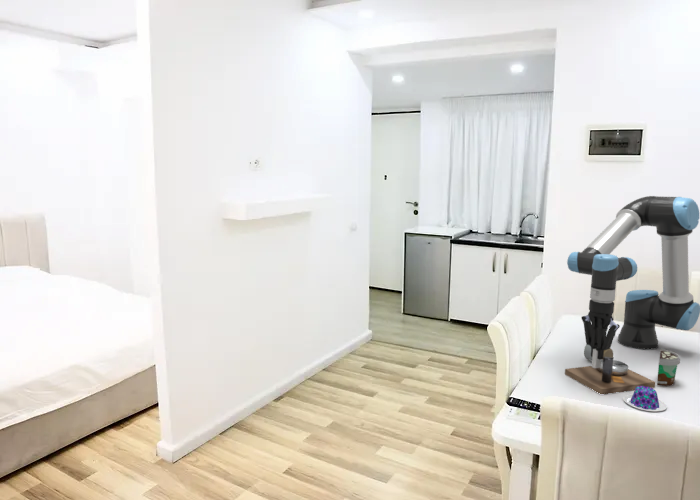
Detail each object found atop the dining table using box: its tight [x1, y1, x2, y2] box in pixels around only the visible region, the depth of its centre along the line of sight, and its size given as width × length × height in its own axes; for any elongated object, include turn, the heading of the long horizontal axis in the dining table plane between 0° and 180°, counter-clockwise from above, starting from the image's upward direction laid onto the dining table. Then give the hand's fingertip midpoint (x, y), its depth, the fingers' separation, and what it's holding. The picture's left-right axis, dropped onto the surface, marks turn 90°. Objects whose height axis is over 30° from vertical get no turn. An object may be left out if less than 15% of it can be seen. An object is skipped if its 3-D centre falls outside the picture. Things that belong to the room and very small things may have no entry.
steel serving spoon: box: [597, 357, 629, 383], centre depth 180 cm, size 18×10×8 cm, turn 145°
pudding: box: [623, 386, 668, 412], centre depth 163 cm, size 12×12×5 cm
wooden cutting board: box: [564, 365, 656, 395], centre depth 181 cm, size 22×18×2 cm
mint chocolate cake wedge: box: [656, 348, 681, 387], centre depth 179 cm, size 12×6×10 cm, turn 148°
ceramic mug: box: [583, 344, 615, 362], centre depth 199 cm, size 11×8×8 cm
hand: (595, 367), depth 176 cm, fingers closed
